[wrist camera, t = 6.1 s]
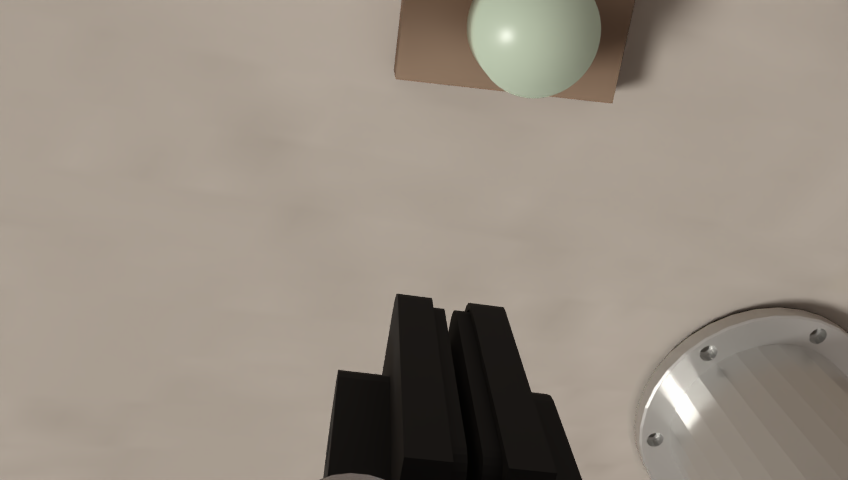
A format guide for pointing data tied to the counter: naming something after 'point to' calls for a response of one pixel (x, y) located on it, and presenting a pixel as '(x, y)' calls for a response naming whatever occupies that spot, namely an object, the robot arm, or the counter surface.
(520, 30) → the button sage
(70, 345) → the counter surface
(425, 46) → the button board
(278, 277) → the counter surface
